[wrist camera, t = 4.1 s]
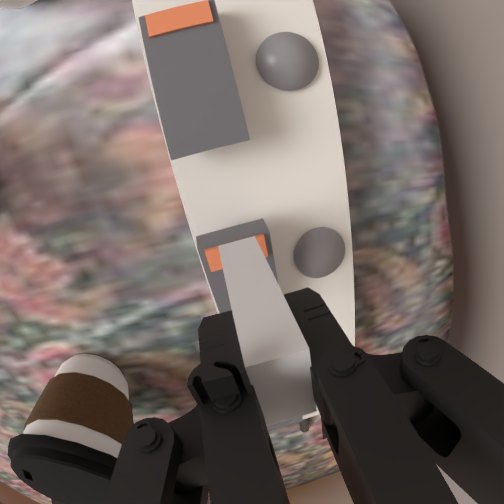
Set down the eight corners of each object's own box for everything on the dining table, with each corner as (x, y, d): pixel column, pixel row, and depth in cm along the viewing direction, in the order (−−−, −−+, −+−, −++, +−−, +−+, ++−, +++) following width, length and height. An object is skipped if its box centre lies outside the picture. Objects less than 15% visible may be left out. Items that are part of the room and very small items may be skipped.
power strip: (338, 415, 34) (351, 441, 30) (267, 437, 34) (276, 466, 30) (282, -15, 15) (303, -39, 11) (140, 10, 14) (128, -13, 10)
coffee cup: (42, 391, 25) (16, 488, 14) (43, 314, 21) (-10, 431, 11) (139, 421, 29) (137, 522, 18) (164, 354, 25) (165, 483, 14)
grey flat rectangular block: (246, 141, 14) (250, 139, 13) (173, 160, 14) (170, 160, 12) (213, 9, 12) (214, -3, 10) (142, 26, 11) (137, 15, 10)
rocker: (280, 314, 20) (286, 330, 19) (227, 329, 20) (231, 346, 18) (262, 218, 16) (270, 231, 15) (195, 236, 16) (197, 251, 14)
